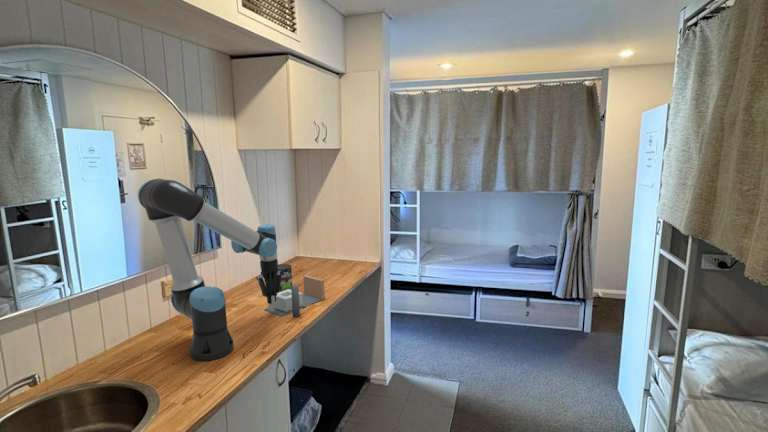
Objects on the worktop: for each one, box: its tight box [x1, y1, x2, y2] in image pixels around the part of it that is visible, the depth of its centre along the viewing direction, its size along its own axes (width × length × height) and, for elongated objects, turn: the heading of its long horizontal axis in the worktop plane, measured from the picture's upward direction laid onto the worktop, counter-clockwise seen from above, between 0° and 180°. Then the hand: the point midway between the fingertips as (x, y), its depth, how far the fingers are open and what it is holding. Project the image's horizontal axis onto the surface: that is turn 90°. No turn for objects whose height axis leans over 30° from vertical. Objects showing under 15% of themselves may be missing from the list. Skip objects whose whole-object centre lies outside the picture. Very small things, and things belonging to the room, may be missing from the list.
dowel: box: [291, 284, 301, 318], centre depth 183 cm, size 3×3×14 cm
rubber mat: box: [264, 293, 325, 317], centre depth 198 cm, size 26×13×1 cm, turn 142°
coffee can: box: [277, 263, 293, 292], centre depth 214 cm, size 10×10×14 cm
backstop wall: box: [303, 274, 326, 300], centre depth 207 cm, size 2×13×10 cm, turn 52°
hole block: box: [275, 289, 303, 312], centre depth 193 cm, size 10×10×6 cm
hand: (272, 309), depth 187 cm, fingers closed
